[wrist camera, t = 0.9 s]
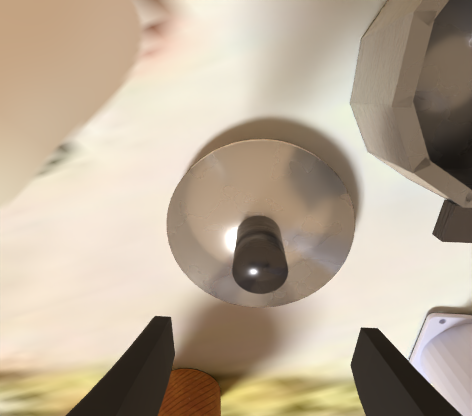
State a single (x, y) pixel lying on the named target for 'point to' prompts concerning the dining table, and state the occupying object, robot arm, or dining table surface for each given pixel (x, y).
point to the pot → (421, 101)
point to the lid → (260, 223)
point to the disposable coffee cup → (191, 394)
